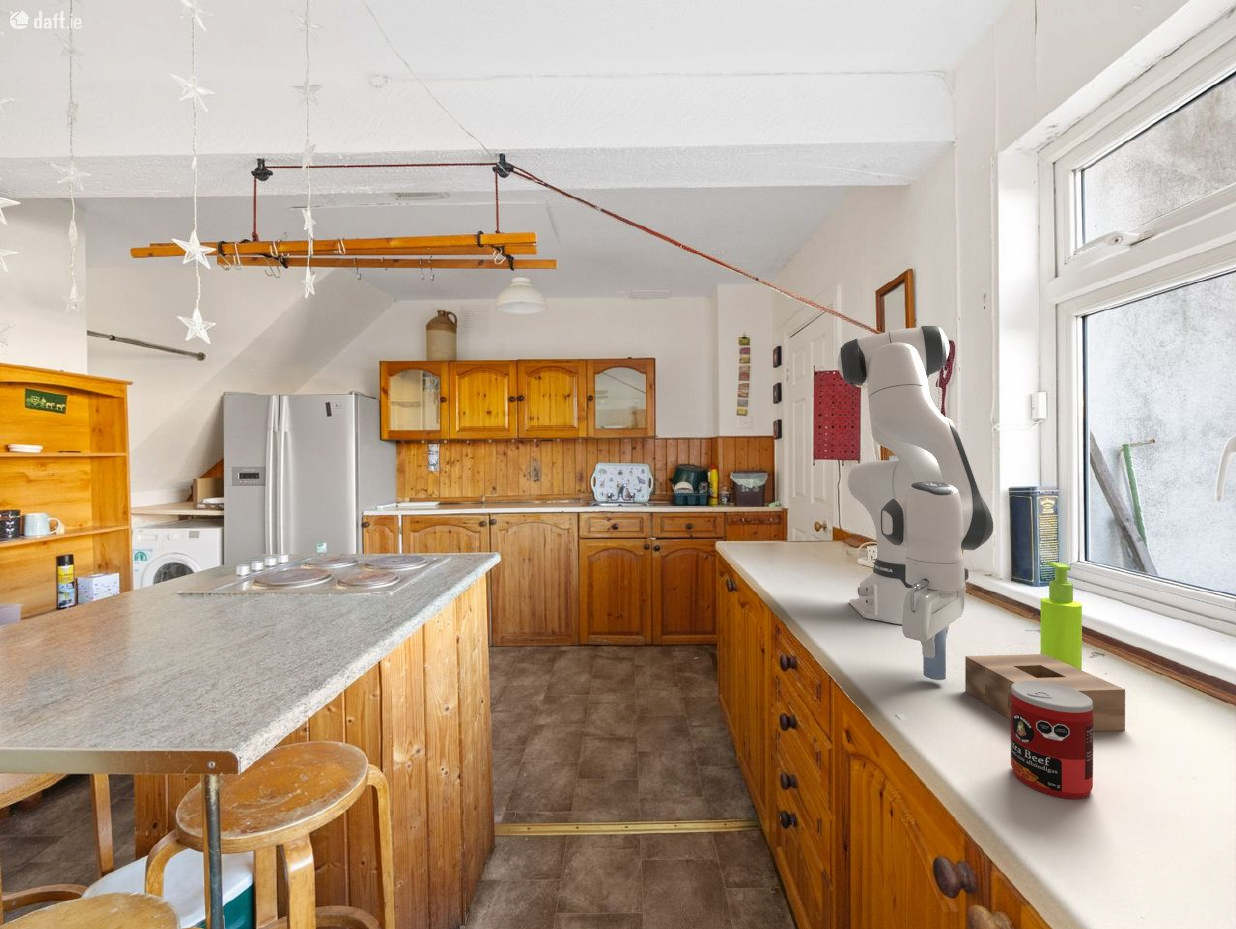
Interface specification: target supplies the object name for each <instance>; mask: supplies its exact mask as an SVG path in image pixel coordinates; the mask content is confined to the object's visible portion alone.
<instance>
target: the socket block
mask: <svg viewBox="0 0 1236 929" xmlns="http://www.w3.org/2000/svg"><path fill="white" fill-rule="evenodd" d="M964 657H965V667H964V668H965V669H964V670H965V672H964V675H965V676H964V678H965V683H964V684H965V687H964V689H965V692H966V693H967V694H969V695H970V696H973V697H974V698H975V699H976V700H977V699H978V700H979V701H980V702H982V703H984V704H985V705H987V706H988V707H990V708H992V710H994V711H996V712H998V713H999V714H1001V715H1003V716H1004V717H1006V718H1007V719H1009V720H1010V721H1011V686H1012V684H1013V683H1015V682H1019V681H1041V682H1048V683H1053V684H1057V685H1062V686H1065V687H1068V688H1071V689H1074V690H1076V691H1079V692H1081V693H1083V694H1085V695H1087V696H1088V697H1089V698H1091V700H1092V702H1093V717H1094V722H1093V732H1112V731H1126V689H1125V688H1123V687H1120V686H1118V685H1116V684H1114V683H1112V682H1109V681H1107V680H1105V679H1102V678H1100V677H1098V676H1095V675H1093V674H1091V673H1089V672H1086V671H1084V670H1083V669H1082V670H1080V669H1077V668H1075V667H1073V666H1071V665H1068V664H1066V663H1064V662H1061V661H1059V660H1057V659H1055V658H1052V657H1050V656H1048V655H1045V654H1040V653H1036V654H1035V653H1034V654H996V655H965V656H964Z"/></svg>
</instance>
